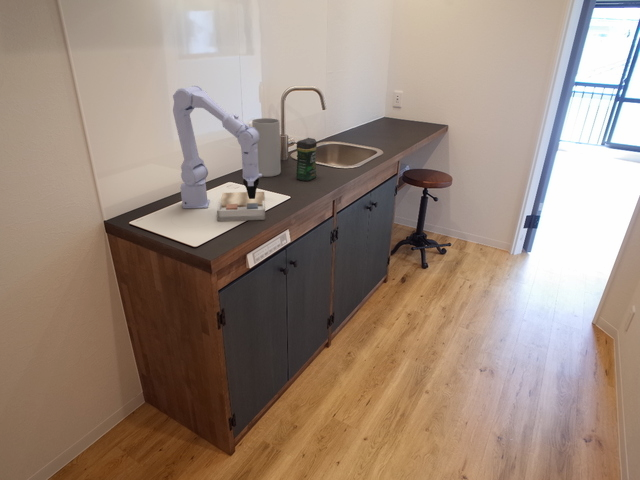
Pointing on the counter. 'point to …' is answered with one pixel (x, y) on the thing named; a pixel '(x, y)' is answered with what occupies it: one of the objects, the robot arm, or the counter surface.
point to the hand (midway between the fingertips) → (252, 198)
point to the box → (241, 213)
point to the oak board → (241, 199)
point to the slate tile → (252, 205)
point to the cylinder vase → (268, 146)
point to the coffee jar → (306, 159)
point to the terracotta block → (232, 207)
